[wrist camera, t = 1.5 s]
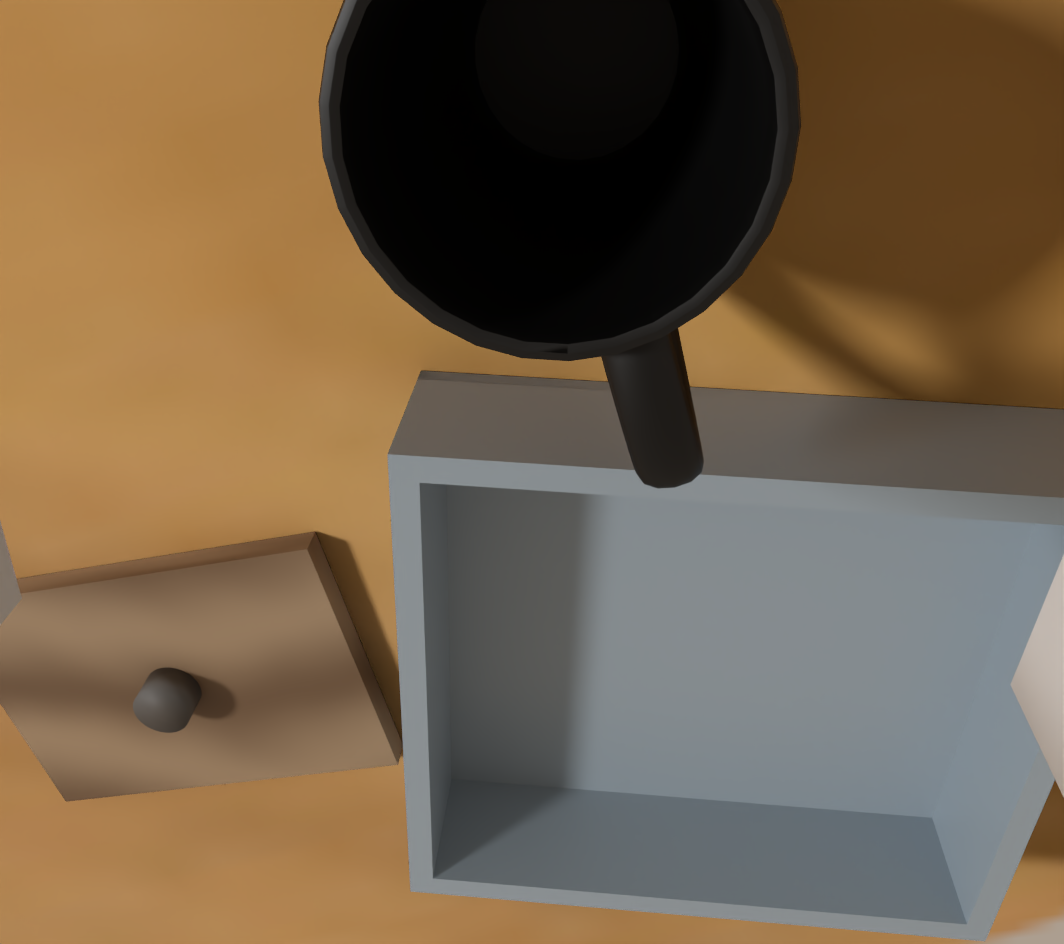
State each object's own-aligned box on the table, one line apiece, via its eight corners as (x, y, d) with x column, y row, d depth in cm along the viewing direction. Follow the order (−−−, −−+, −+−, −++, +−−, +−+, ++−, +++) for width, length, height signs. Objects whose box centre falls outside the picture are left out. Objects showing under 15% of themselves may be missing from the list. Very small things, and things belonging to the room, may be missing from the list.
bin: (421, 370, 30) (387, 454, 26) (1092, 411, 29) (1173, 505, 25) (433, 779, 39) (410, 891, 35) (944, 820, 38) (984, 941, 34)
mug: (517, 370, 30) (478, 559, 22) (365, -69, 24) (233, -37, 16) (796, 299, 28) (868, 476, 20) (702, -192, 22) (749, -227, 14)
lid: (-49, 589, 36) (-86, 629, 34) (315, 531, 33) (296, 571, 31) (77, 781, 41) (51, 826, 39) (402, 744, 38) (391, 790, 36)
